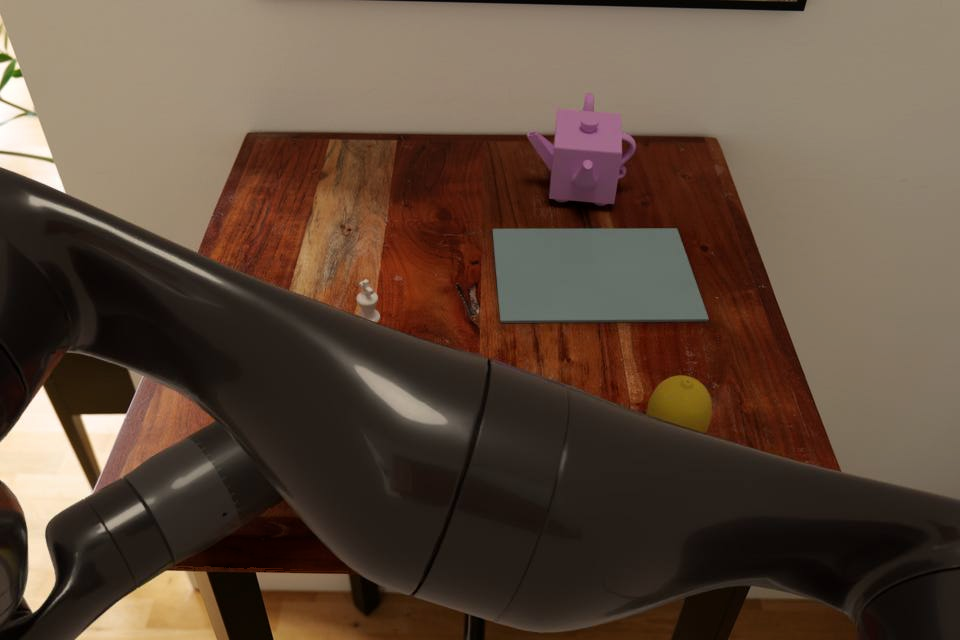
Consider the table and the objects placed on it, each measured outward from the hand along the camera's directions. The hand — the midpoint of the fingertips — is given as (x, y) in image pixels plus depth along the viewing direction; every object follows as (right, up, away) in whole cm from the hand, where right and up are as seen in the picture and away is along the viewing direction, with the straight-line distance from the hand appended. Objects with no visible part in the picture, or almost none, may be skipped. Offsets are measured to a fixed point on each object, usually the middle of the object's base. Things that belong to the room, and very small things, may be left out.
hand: (395, 374), depth 69 cm
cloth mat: (+20, +9, +26) cm, 34 cm away
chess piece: (-4, 0, +16) cm, 16 cm away
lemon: (+24, -7, +9) cm, 27 cm away
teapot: (+19, +21, +39) cm, 48 cm away
